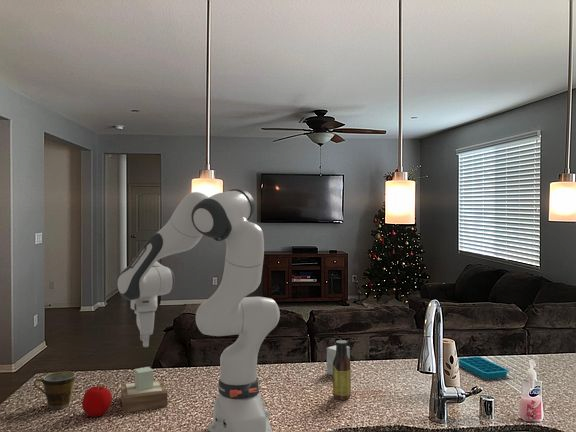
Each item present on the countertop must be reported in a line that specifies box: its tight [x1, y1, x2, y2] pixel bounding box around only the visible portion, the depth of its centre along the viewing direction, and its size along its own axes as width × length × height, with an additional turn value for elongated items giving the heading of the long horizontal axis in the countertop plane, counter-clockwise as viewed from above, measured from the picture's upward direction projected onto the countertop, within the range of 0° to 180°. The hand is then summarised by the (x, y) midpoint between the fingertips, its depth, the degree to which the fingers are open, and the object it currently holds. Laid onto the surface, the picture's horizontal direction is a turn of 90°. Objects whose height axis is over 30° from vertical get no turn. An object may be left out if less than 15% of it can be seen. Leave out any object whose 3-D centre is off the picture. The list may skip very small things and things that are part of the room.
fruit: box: [81, 382, 113, 418], centre depth 163 cm, size 9×9×10 cm
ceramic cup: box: [33, 370, 77, 410], centre depth 169 cm, size 13×10×10 cm
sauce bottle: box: [332, 339, 352, 401], centre depth 177 cm, size 7×6×20 cm
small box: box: [326, 344, 351, 376], centre depth 204 cm, size 8×6×10 cm
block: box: [134, 366, 154, 391], centre depth 173 cm, size 5×5×6 cm
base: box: [120, 378, 168, 413], centre depth 173 cm, size 14×14×5 cm
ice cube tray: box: [457, 356, 510, 380], centre depth 207 cm, size 12×20×3 cm, turn 15°
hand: (144, 343), depth 173 cm, fingers open, 8 cm apart
